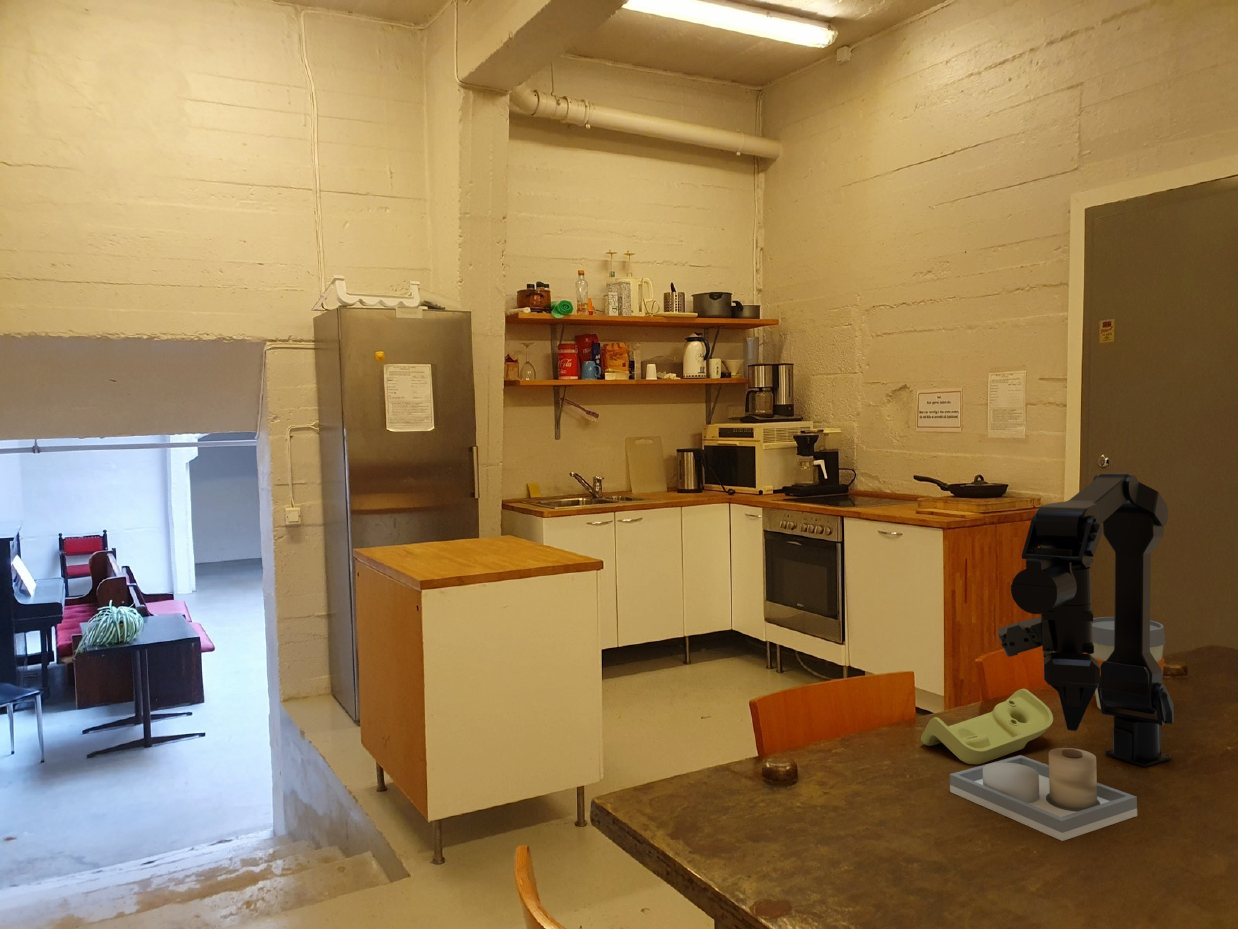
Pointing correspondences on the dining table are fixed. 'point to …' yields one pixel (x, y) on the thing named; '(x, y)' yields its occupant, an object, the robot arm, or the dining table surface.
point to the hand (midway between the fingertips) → (1070, 719)
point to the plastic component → (993, 729)
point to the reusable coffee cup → (1105, 642)
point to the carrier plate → (1038, 798)
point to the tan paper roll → (1072, 778)
